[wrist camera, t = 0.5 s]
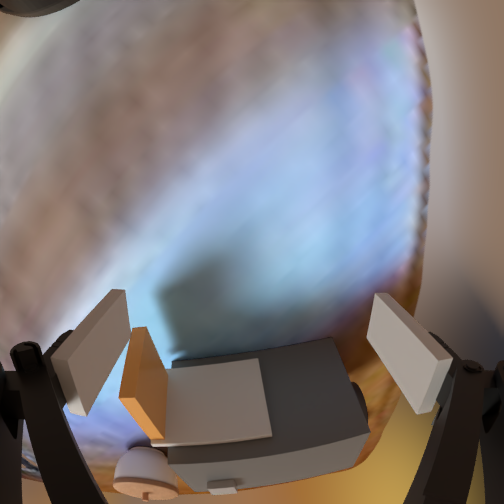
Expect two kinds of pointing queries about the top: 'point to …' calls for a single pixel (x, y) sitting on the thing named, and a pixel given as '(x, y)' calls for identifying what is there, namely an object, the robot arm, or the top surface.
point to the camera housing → (284, 423)
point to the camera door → (192, 398)
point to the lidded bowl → (145, 475)
